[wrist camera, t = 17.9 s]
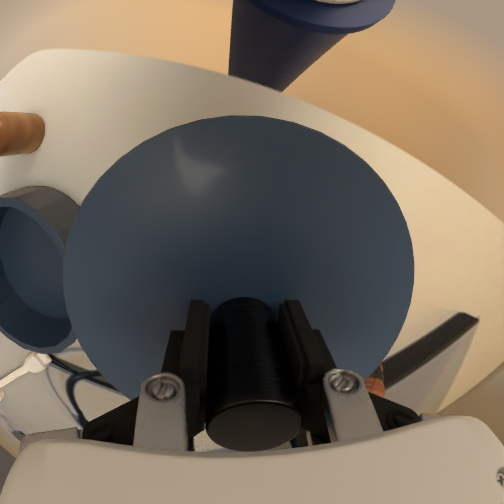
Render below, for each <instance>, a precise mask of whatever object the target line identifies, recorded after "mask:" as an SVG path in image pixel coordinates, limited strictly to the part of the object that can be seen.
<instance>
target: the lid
mask: <svg viewBox="0 0 504 504" xmlns="http://www.w3.org/2000/svg"><path fill="white" fill-rule="evenodd" d="M413 285H414V256H413V248H412V242H411V238H410V234H409V230H408V227H407V223H406V221H405V218H404V216H403V214H402V212H401V209H400V207H399V205H398V203H397V201H396V199H395V198H394V196H393V195H392V193H391V192H390V190H389V189H388V187H387V186H386V184H385V183H384V181H383V180H382V179H381V178H380V177H379V175H378V174H377V173H376V172H375V171H374V170H373V169H372V168H371V167H370V166H369V165H368V164H367V163H366V162H365V161H364V160H363V159H362V158H360V157H359V156H358V155H357V154H355V153H354V152H353V151H351V150H350V149H349V148H348V147H346V146H345V145H343V144H341V143H340V142H338V141H336V140H334V139H332V138H331V137H329V136H327V135H325V134H323V133H321V132H319V131H316V130H314V129H311V128H308V127H306V126H303V125H300V124H297V123H294V122H290V121H285V120H280V119H275V118H269V117H263V116H223V117H215V118H208V119H201V120H197V121H194V122H190V123H187V124H184V125H180V126H177V127H174V128H171V129H168V130H166V131H164V132H162V133H160V134H158V135H156V136H154V137H152V138H150V139H148V140H146V141H144V142H142V143H141V144H139V145H138V146H136V147H135V148H134V149H132V150H131V151H129V152H128V153H126V154H125V155H124V156H122V157H121V158H120V159H119V160H117V161H116V162H115V163H114V164H113V165H112V166H111V167H110V168H109V169H108V170H107V171H106V172H105V173H104V174H103V175H102V176H101V177H100V178H99V180H98V181H97V182H96V184H95V185H94V187H93V188H92V189H91V191H90V192H89V193H88V195H87V196H86V198H85V199H84V201H83V203H82V205H81V207H80V209H79V211H78V213H77V215H76V217H75V219H74V221H73V224H72V227H71V230H70V233H69V236H68V240H67V243H66V248H65V255H64V262H63V290H64V297H65V303H66V309H67V312H68V315H69V319H70V322H71V325H72V328H73V330H74V332H75V334H76V337H77V339H78V341H79V343H80V345H81V347H82V348H83V350H84V351H85V353H86V355H87V356H88V358H89V359H90V361H91V362H92V363H93V365H94V366H95V367H96V368H97V370H98V371H99V372H100V373H101V374H102V375H103V377H104V378H106V379H107V380H108V381H109V382H110V383H111V384H112V385H113V386H114V387H115V388H116V389H117V390H119V391H120V392H121V393H122V394H124V395H125V396H126V397H128V398H129V399H130V400H133V399H134V398H136V397H138V396H139V395H140V389H141V385H142V382H143V381H144V380H145V379H146V378H147V377H148V376H150V375H152V374H155V373H160V372H161V370H162V365H163V361H164V356H165V352H166V348H167V344H168V340H169V335H170V332H171V330H185V327H186V322H187V316H188V311H189V306H190V301H191V299H195V300H204V302H205V303H209V304H210V338H209V357H208V379H207V398H206V423H204V429H206V432H207V434H208V436H209V437H210V439H211V440H212V441H214V442H215V443H216V444H218V445H220V446H222V447H224V448H227V449H231V450H236V451H245V452H251V451H262V450H268V449H271V448H275V447H278V446H280V445H283V444H285V443H286V442H288V441H290V440H291V439H293V438H294V437H295V436H296V435H297V434H298V433H299V432H300V430H301V428H302V425H303V420H304V418H303V414H302V410H301V407H300V403H299V400H298V396H297V392H296V389H295V385H294V382H293V378H292V375H291V371H290V367H289V364H288V360H287V357H286V353H285V350H284V346H283V342H282V339H281V335H280V332H279V328H278V325H277V324H278V315H279V306H280V303H284V301H285V300H299V301H300V303H301V306H302V308H303V310H304V312H305V315H306V317H307V319H308V321H309V324H310V326H311V328H312V329H319V330H320V332H321V334H322V336H323V338H324V340H325V343H326V345H327V347H328V349H329V351H330V353H331V355H332V358H333V360H334V362H335V364H336V366H337V368H347V369H351V370H353V371H355V372H357V373H358V374H359V375H360V376H361V377H362V379H363V381H365V380H366V379H367V378H368V377H369V376H370V374H371V373H372V372H373V371H374V370H375V369H376V368H377V367H378V366H379V364H380V363H381V362H382V360H383V359H384V358H385V357H386V355H387V354H388V352H389V351H390V349H391V347H392V346H393V344H394V342H395V341H396V339H397V337H398V335H399V333H400V331H401V329H402V326H403V324H404V322H405V319H406V316H407V313H408V309H409V306H410V303H411V297H412V291H413Z"/></svg>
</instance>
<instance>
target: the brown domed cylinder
mask: <svg viewBox="0 0 504 504" xmlns="http://www.w3.org/2000/svg"><path fill="white" fill-rule="evenodd" d="M44 129H45V128H44V122H43V120H42V118H41V117H40V116H39V115H37V114H30V113H18V112H0V157H2V156H9V155H16V154H24V153H31V152H33V151H35V150H36V149H37V148H38V147H39V146H40V144H41V142H42V140H43V137H44Z"/></svg>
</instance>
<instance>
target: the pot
mask: <svg viewBox="0 0 504 504" xmlns="http://www.w3.org/2000/svg"><path fill="white" fill-rule="evenodd" d="M79 209H80V207H79V206H78V205H77V204H76V203H75V202H74V201H73V200H72V199H71V198H69V197H68V196H67V195H65V194H63V193H62V192H60V191H58V190H55V189H53V188H50V187H45V186H34V187H25V188H22V189H18V190H15V191H12V192H9V193H6V194H3V195H0V331H1V332H2V333H3V334H4V335H5V336H6V337H7V338H9V339H10V340H12V341H13V342H15V343H16V344H18V345H19V346H21V347H22V348H24V349H27V350H31V351H34V352H37V353H40V354H49V353H59V352H61V351H63V350H64V349H65V348H67V347H68V346H70V345H71V344H72V343H74V342H75V340H76V339H77V337H76V334H75V332H74V330H73V328H72V325H71V322H70V319H69V315H68V312H67V309H66V303H65V297H64V290H63V262H64V255H65V248H66V243H67V240H68V236H69V233H70V230H71V227H72V224H73V221H74V219H75V217H76V215H77V213H78V211H79Z"/></svg>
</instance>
